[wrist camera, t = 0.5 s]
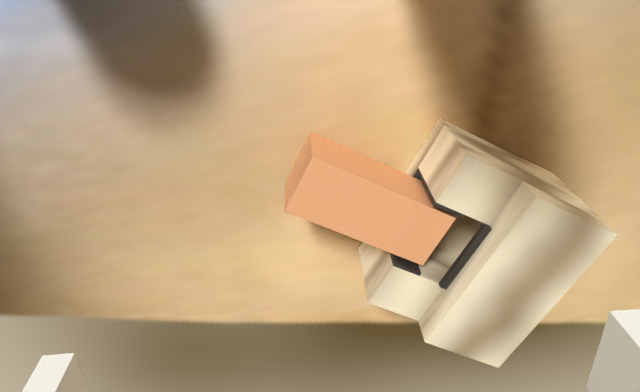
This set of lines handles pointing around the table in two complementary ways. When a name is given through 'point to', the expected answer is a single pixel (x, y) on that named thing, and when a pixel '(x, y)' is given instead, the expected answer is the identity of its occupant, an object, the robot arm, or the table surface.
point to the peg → (364, 200)
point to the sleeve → (487, 248)
